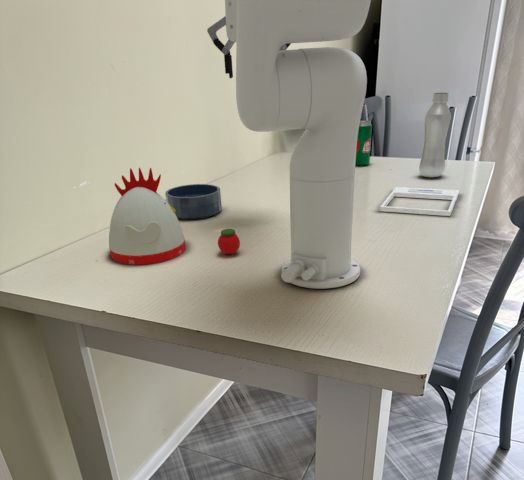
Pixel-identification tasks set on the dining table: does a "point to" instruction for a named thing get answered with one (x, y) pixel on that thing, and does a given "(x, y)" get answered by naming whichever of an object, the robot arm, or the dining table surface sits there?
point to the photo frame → (421, 194)
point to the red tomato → (228, 241)
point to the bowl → (194, 200)
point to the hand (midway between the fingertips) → (255, 76)
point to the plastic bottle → (435, 137)
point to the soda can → (363, 143)
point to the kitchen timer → (144, 224)
